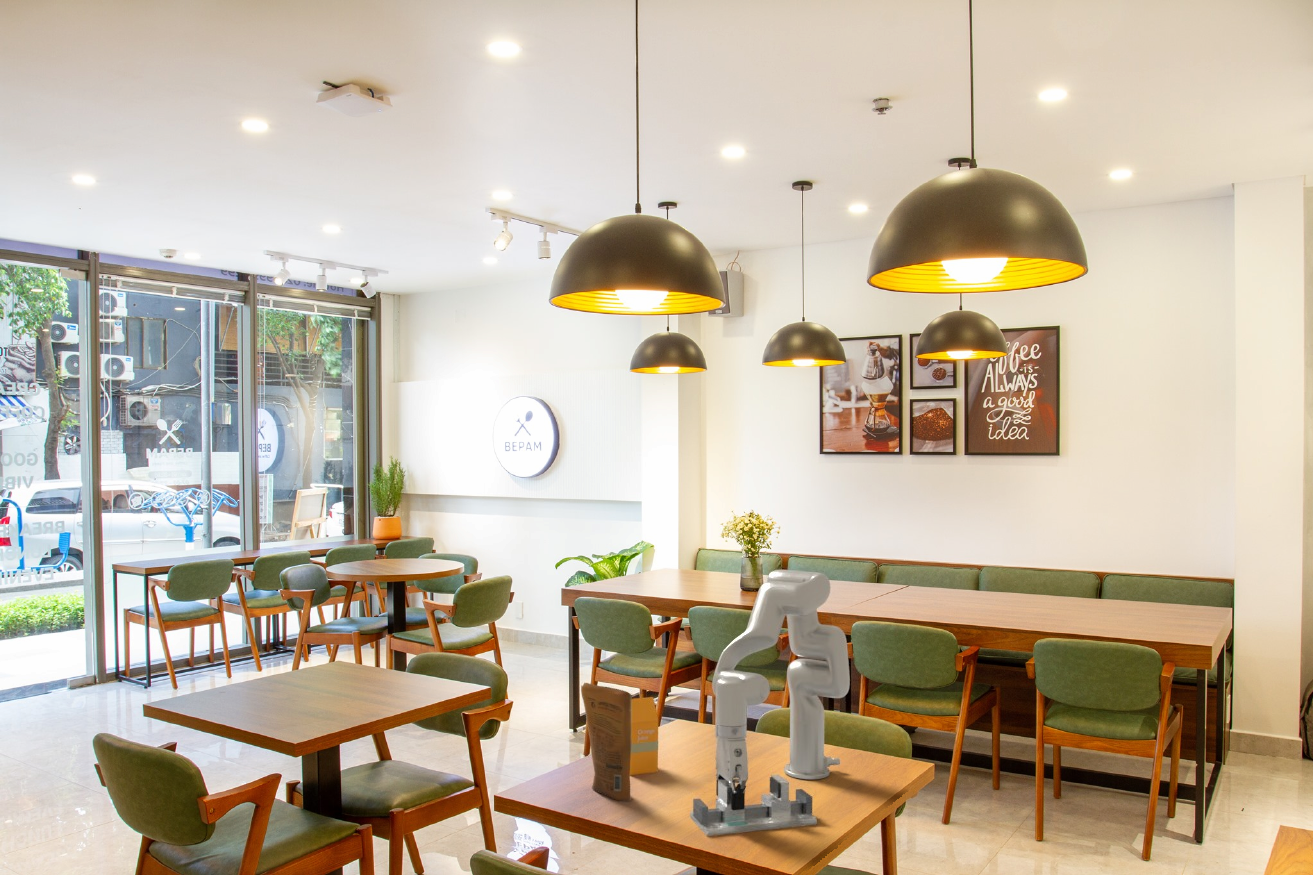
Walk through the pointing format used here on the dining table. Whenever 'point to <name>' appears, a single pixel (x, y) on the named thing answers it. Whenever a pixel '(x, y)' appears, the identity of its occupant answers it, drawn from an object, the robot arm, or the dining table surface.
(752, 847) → the dining table surface
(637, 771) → the orange juice
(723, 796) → the notched grey block
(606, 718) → the pancake mix bag
